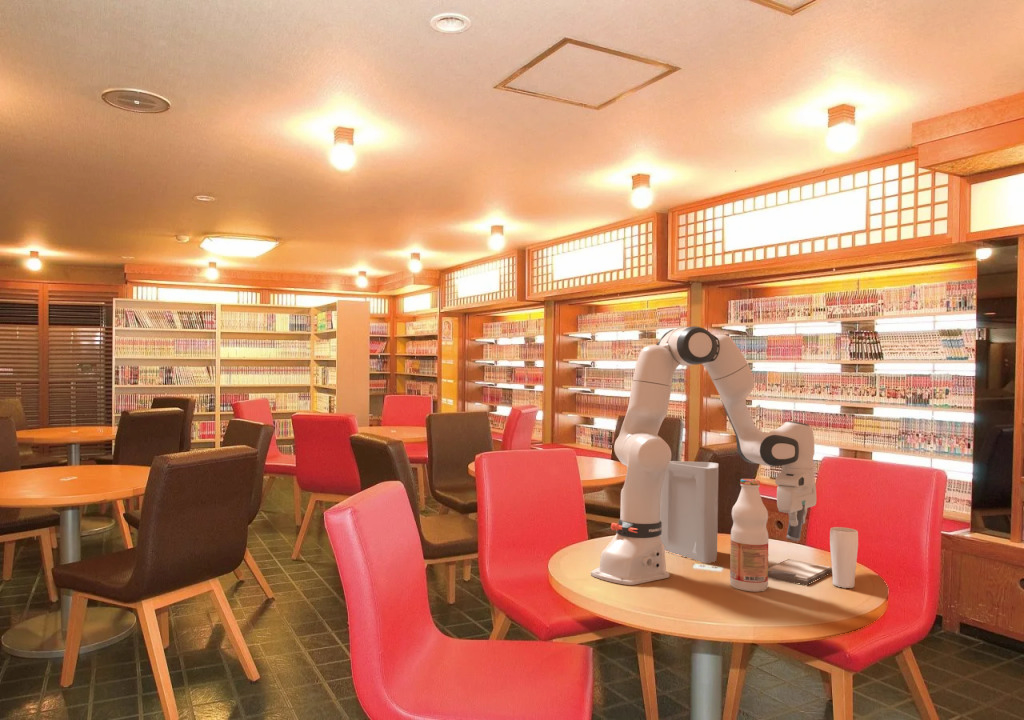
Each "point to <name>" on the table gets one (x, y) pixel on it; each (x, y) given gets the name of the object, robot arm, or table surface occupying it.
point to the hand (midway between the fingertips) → (797, 524)
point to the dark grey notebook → (798, 571)
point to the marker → (795, 531)
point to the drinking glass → (843, 556)
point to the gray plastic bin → (690, 510)
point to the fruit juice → (749, 540)
